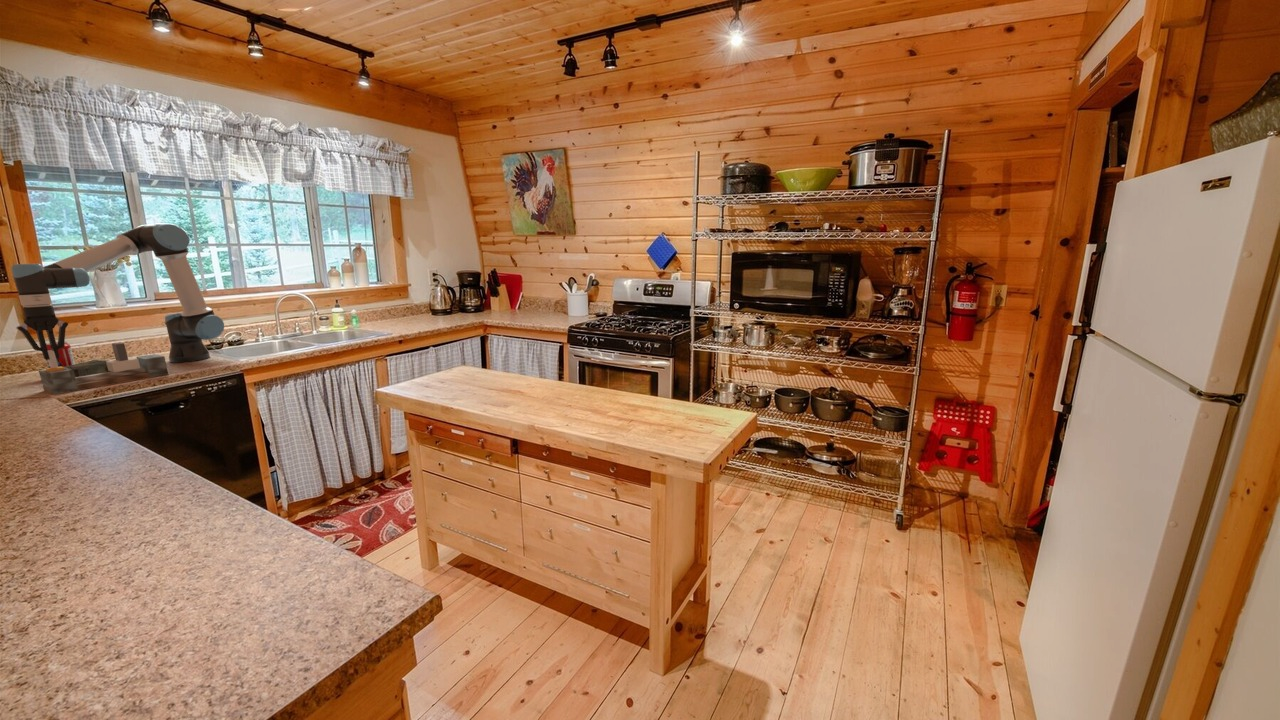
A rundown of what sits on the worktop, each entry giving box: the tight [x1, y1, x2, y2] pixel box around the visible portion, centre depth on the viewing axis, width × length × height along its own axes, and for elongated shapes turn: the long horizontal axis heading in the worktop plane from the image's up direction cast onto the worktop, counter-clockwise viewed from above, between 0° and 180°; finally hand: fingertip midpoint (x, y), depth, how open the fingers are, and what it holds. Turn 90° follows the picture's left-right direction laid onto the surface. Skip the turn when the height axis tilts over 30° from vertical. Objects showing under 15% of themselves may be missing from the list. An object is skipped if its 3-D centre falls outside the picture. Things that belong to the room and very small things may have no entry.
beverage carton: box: [64, 359, 111, 377], centre depth 215 cm, size 8×19×7 cm, turn 5°
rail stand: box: [38, 353, 169, 396], centre depth 206 cm, size 34×11×8 cm, turn 150°
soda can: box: [45, 341, 76, 368], centre depth 217 cm, size 8×8×15 cm
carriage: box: [106, 341, 140, 372], centre depth 209 cm, size 8×7×11 cm
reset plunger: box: [45, 366, 65, 372], centre depth 194 cm, size 4×4×4 cm
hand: (54, 367), depth 194 cm, fingers closed
